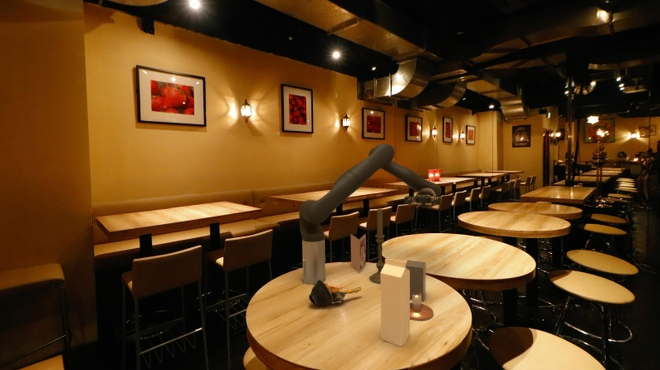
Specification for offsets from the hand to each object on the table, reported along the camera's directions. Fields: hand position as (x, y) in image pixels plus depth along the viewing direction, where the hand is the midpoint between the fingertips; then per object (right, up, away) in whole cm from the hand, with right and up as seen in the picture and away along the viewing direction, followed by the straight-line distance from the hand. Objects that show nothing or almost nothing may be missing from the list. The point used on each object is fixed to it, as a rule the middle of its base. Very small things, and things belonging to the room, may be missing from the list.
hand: (420, 202), depth 115 cm
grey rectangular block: (-4, -33, -7) cm, 34 cm away
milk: (-17, -36, -32) cm, 51 cm away
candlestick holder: (-14, -32, +9) cm, 36 cm away
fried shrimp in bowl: (-33, -35, -11) cm, 49 cm away
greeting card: (-23, -32, +22) cm, 45 cm away
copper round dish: (-7, -34, -19) cm, 40 cm away
